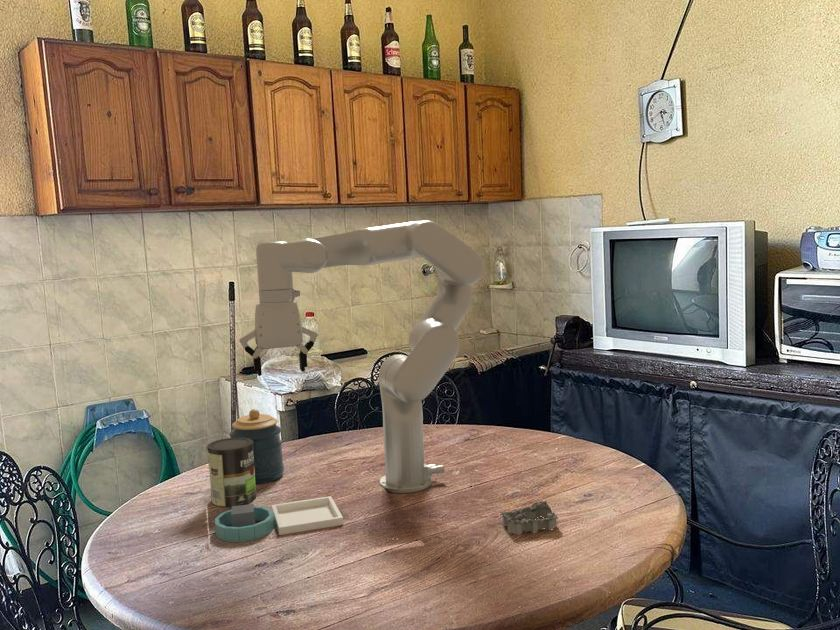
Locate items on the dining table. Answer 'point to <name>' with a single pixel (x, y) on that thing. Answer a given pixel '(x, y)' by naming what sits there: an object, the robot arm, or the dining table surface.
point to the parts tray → (306, 515)
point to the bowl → (246, 531)
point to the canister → (262, 444)
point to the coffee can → (232, 472)
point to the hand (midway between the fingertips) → (281, 372)
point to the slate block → (242, 515)
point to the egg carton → (530, 518)
